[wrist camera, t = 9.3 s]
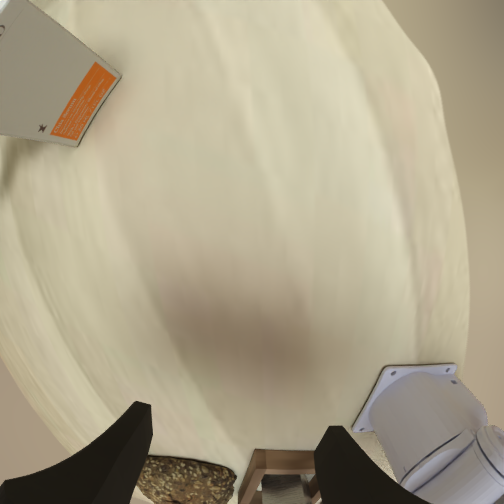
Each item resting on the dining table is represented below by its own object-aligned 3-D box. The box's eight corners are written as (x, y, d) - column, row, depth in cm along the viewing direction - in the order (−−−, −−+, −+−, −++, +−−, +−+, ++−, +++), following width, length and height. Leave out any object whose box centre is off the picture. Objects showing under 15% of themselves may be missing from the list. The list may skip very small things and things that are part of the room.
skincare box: (78, 149, 15) (-63, 135, 4) (46, 126, 15) (-77, 107, 3) (126, 74, 14) (16, -12, 3) (89, 57, 14) (-13, -10, 2)
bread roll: (123, 442, 22) (110, 475, 17) (237, 459, 22) (236, 496, 18) (147, 491, 25) (140, 517, 20) (236, 502, 25) (235, 530, 20)
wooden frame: (340, 449, 22) (346, 466, 20) (308, 493, 24) (310, 507, 22) (255, 449, 22) (255, 468, 19) (238, 492, 24) (237, 508, 22)
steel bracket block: (260, 467, 23) (263, 512, 17) (297, 459, 22) (305, 504, 17) (275, 487, 24) (278, 526, 18) (308, 480, 24) (315, 519, 18)
